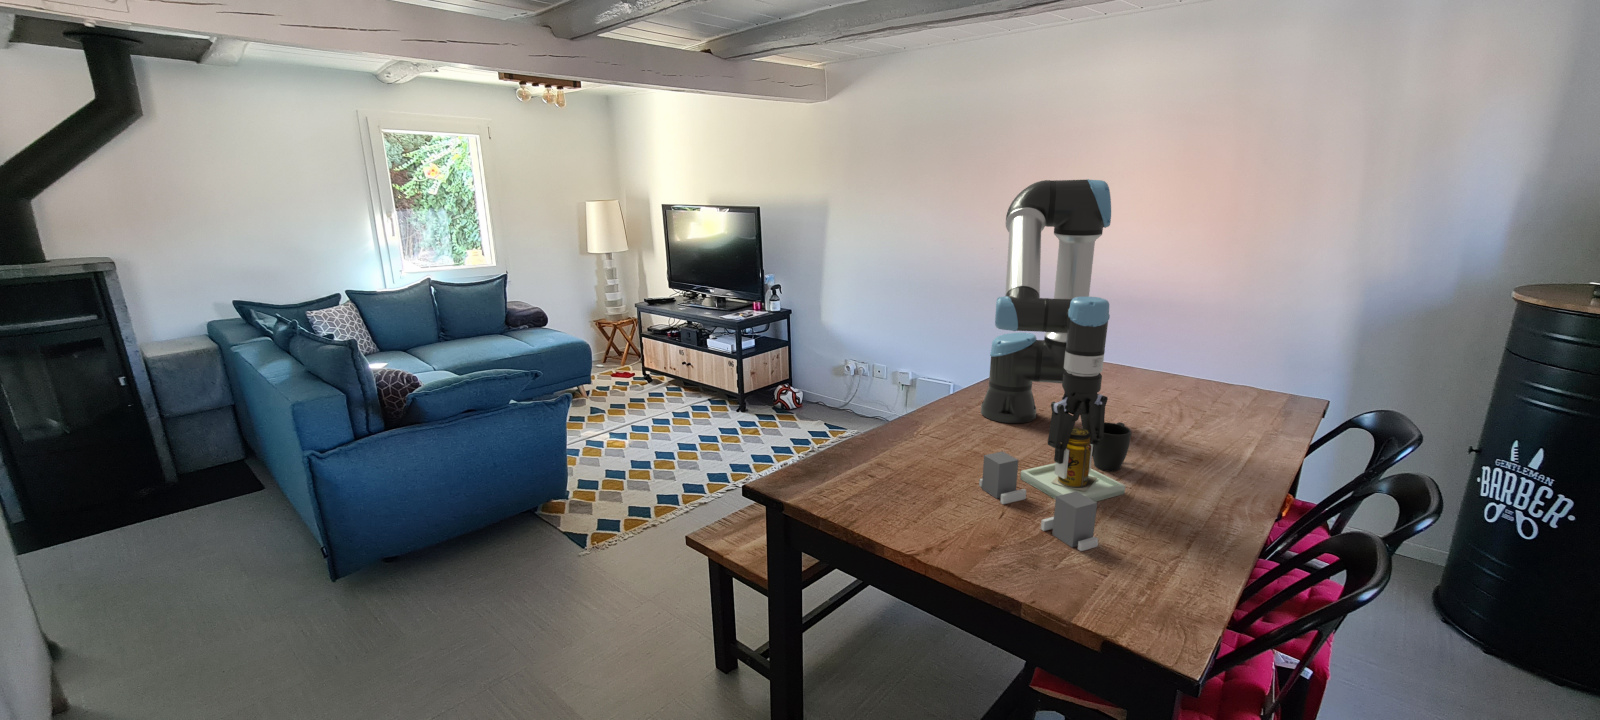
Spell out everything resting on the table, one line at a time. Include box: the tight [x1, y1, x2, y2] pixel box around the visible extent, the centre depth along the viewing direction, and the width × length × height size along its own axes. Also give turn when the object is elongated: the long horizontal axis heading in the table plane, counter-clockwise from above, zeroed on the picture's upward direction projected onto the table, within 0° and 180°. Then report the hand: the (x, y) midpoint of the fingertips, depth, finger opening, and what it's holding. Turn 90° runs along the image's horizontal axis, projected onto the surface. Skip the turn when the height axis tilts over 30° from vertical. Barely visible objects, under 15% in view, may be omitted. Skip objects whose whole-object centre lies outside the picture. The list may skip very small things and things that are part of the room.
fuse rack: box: [978, 450, 1099, 552], centre depth 132 cm, size 29×6×8 cm, turn 23°
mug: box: [1092, 421, 1132, 472], centre depth 154 cm, size 8×12×10 cm
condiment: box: [1051, 427, 1097, 492], centre depth 143 cm, size 7×8×12 cm
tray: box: [1019, 462, 1126, 502], centre depth 144 cm, size 15×15×2 cm
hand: (1072, 473), depth 144 cm, fingers closed on condiment, 6 cm apart
